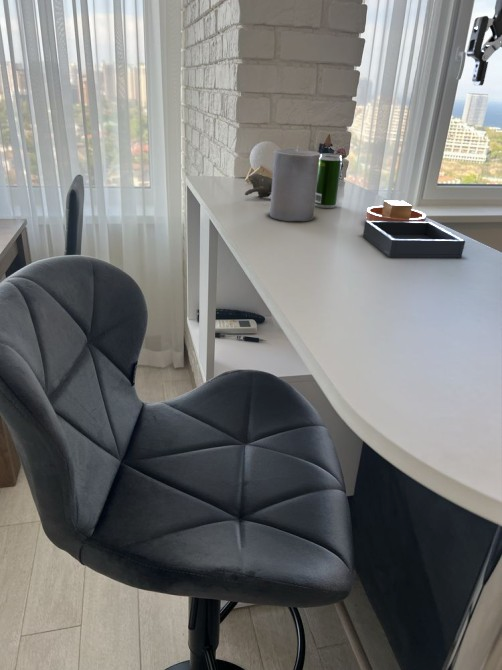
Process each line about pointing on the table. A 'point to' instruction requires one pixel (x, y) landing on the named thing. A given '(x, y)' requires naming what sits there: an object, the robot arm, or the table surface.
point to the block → (396, 209)
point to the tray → (413, 239)
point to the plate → (376, 215)
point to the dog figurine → (260, 185)
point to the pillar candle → (294, 184)
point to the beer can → (328, 180)
